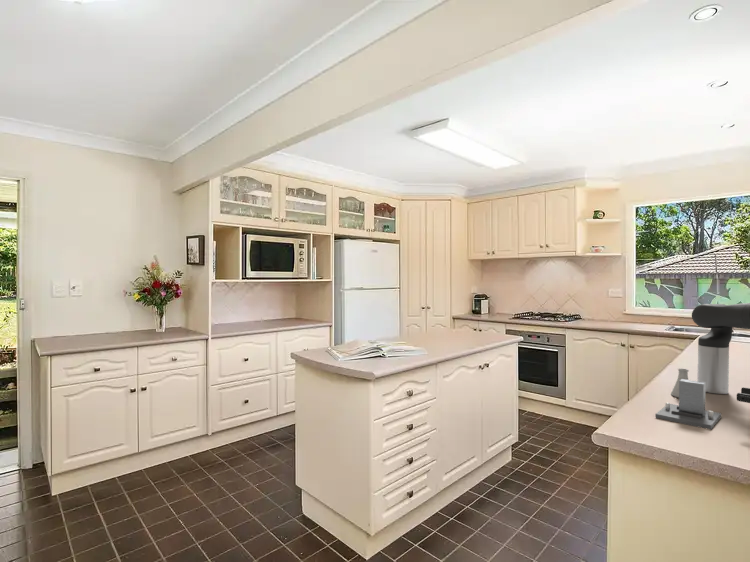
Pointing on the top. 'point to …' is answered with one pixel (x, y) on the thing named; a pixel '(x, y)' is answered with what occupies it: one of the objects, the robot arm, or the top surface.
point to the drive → (692, 397)
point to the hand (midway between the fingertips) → (739, 393)
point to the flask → (682, 375)
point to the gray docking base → (688, 416)
